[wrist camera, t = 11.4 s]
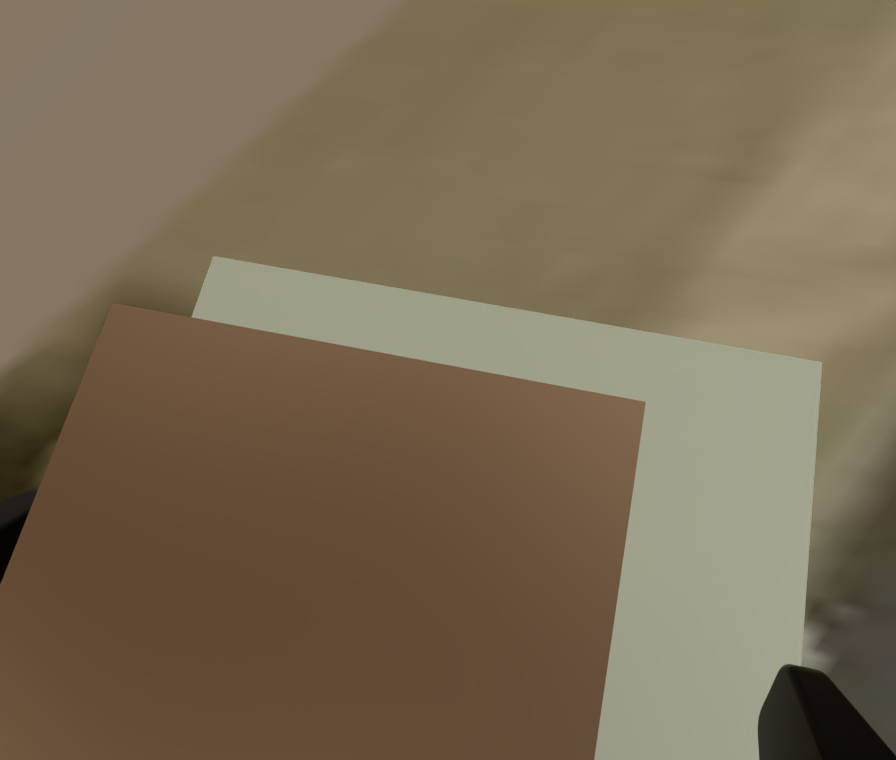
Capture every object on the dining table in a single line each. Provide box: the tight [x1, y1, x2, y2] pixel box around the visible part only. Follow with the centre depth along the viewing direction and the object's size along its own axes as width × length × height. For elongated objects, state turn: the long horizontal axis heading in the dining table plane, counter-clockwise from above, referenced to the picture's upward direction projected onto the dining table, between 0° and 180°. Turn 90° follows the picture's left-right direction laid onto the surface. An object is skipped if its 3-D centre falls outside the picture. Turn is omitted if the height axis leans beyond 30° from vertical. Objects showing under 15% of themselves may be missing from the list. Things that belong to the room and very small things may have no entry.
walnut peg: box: [0, 303, 646, 760], centre depth 11 cm, size 4×4×13 cm
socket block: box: [192, 256, 822, 760], centre depth 15 cm, size 13×13×5 cm
